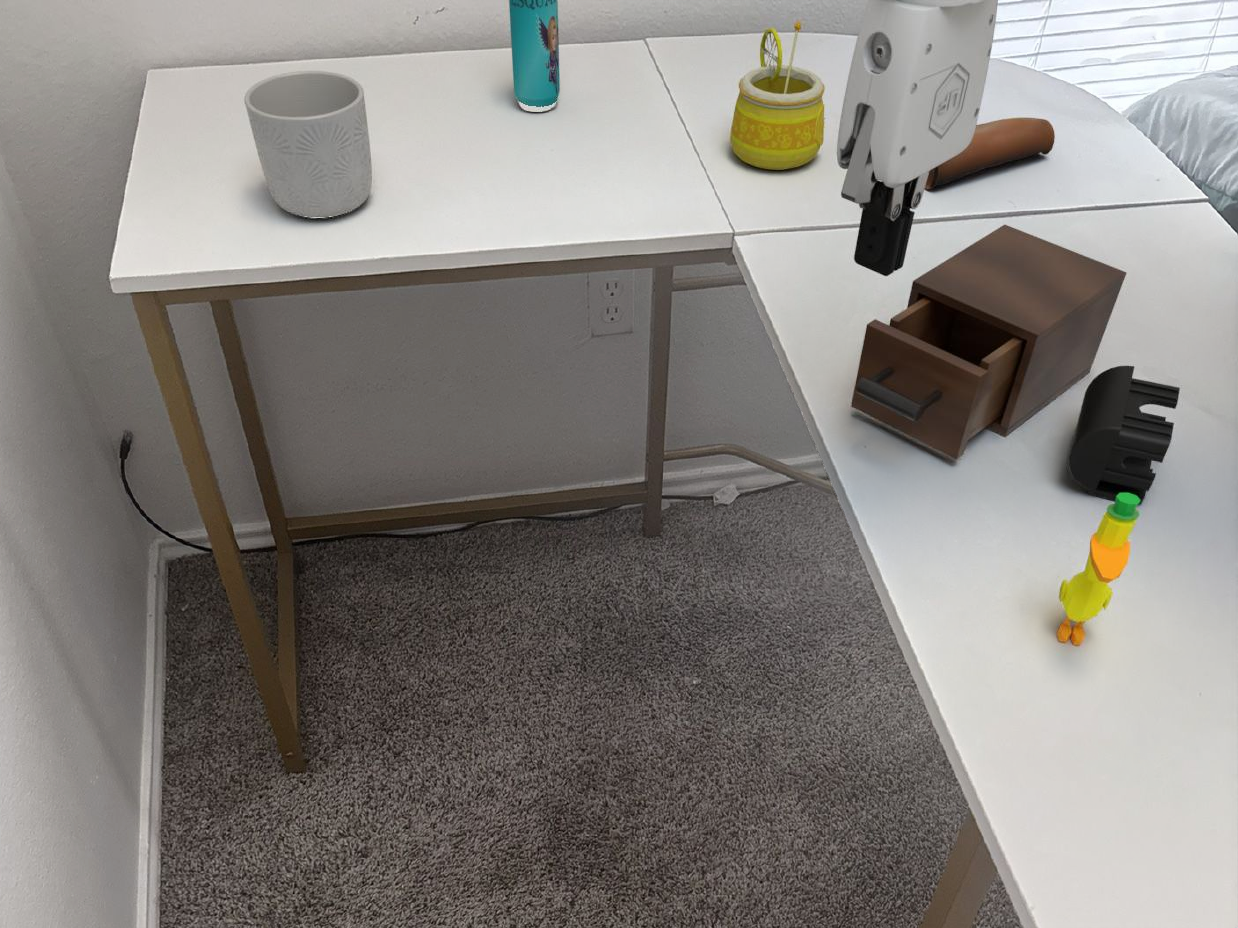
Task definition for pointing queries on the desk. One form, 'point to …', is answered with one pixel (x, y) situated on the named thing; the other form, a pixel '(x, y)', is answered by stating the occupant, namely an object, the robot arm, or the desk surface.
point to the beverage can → (535, 51)
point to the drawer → (936, 374)
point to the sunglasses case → (996, 147)
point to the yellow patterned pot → (778, 112)
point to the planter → (312, 141)
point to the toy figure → (1099, 568)
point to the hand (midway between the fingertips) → (877, 265)
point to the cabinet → (1030, 309)
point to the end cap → (1120, 434)
